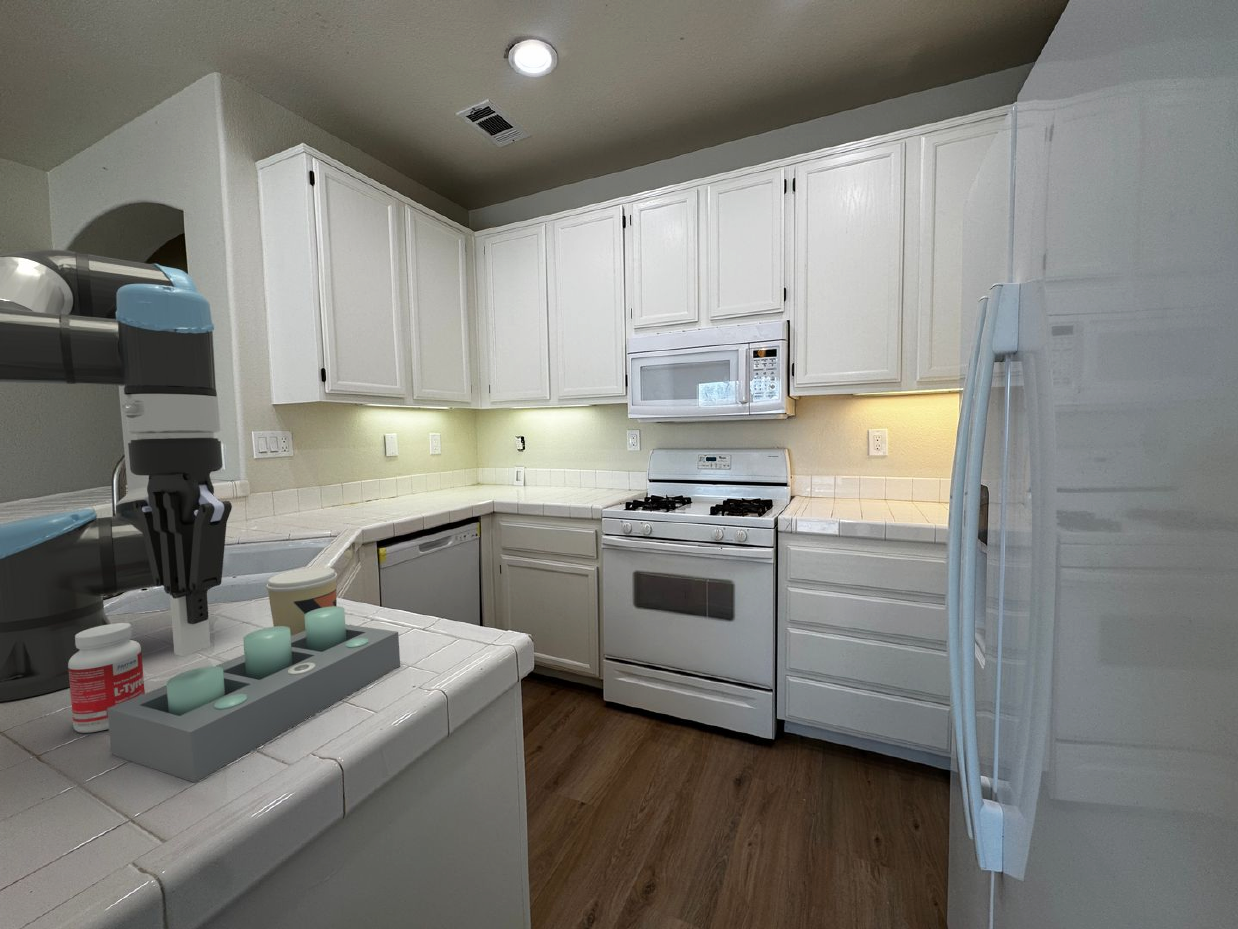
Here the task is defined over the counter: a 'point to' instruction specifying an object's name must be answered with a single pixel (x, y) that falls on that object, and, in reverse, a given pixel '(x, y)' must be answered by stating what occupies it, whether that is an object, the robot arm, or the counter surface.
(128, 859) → the counter surface
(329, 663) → the board
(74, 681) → the pill bottle
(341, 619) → the button
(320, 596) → the coffee cup
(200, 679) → the button
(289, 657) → the button
